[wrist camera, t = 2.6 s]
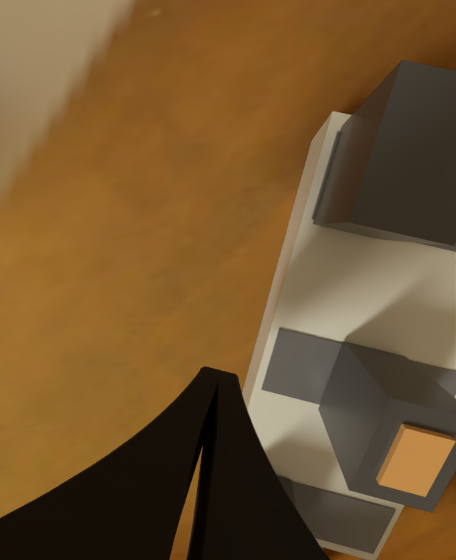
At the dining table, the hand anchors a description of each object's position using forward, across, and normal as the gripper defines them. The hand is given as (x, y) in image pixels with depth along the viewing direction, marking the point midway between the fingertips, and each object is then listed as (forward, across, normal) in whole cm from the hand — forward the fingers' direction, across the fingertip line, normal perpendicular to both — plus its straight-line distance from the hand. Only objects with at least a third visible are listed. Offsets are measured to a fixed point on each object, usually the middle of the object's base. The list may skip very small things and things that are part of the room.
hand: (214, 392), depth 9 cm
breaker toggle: (+4, -7, 0) cm, 8 cm away
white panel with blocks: (+7, -7, 0) cm, 10 cm away
